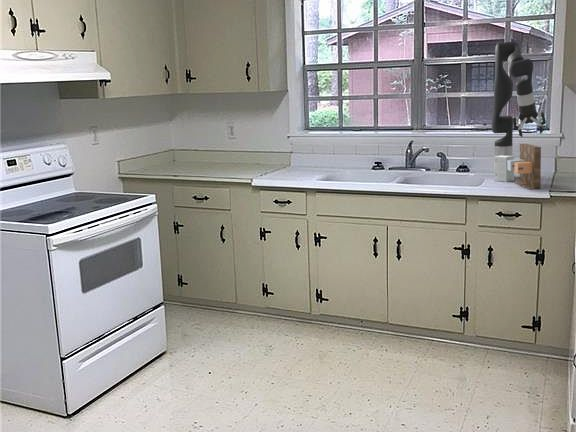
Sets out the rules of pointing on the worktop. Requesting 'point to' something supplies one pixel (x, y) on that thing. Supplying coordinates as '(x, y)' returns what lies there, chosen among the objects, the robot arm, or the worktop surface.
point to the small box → (502, 169)
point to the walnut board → (534, 156)
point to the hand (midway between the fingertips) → (531, 134)
